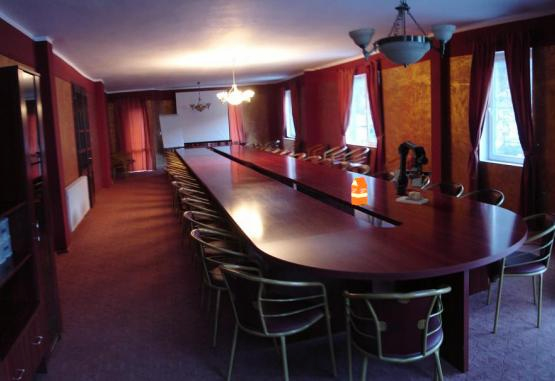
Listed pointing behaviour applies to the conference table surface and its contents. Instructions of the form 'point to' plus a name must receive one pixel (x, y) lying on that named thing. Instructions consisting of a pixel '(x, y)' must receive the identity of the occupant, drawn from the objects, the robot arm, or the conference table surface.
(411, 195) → the birch block
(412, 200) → the grey tray
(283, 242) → the conference table surface
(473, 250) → the conference table surface
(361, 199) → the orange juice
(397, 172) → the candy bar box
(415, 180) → the teal block
